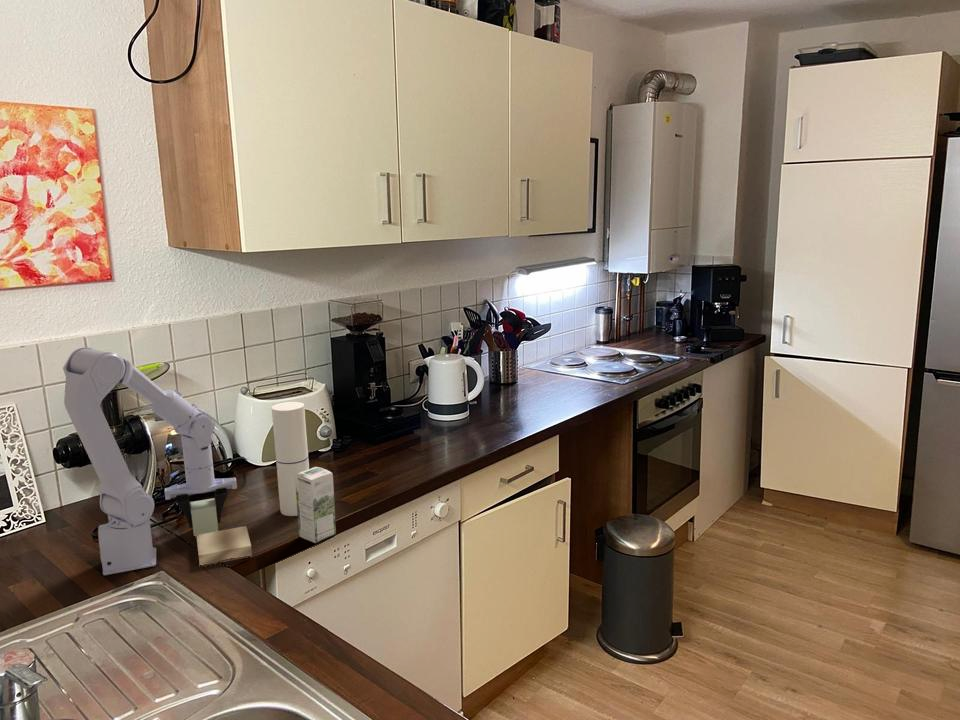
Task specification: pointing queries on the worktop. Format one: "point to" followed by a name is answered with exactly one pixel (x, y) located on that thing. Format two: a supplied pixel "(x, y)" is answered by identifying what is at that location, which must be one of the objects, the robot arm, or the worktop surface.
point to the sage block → (204, 516)
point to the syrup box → (315, 504)
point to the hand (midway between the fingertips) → (205, 523)
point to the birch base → (223, 545)
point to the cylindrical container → (289, 451)
